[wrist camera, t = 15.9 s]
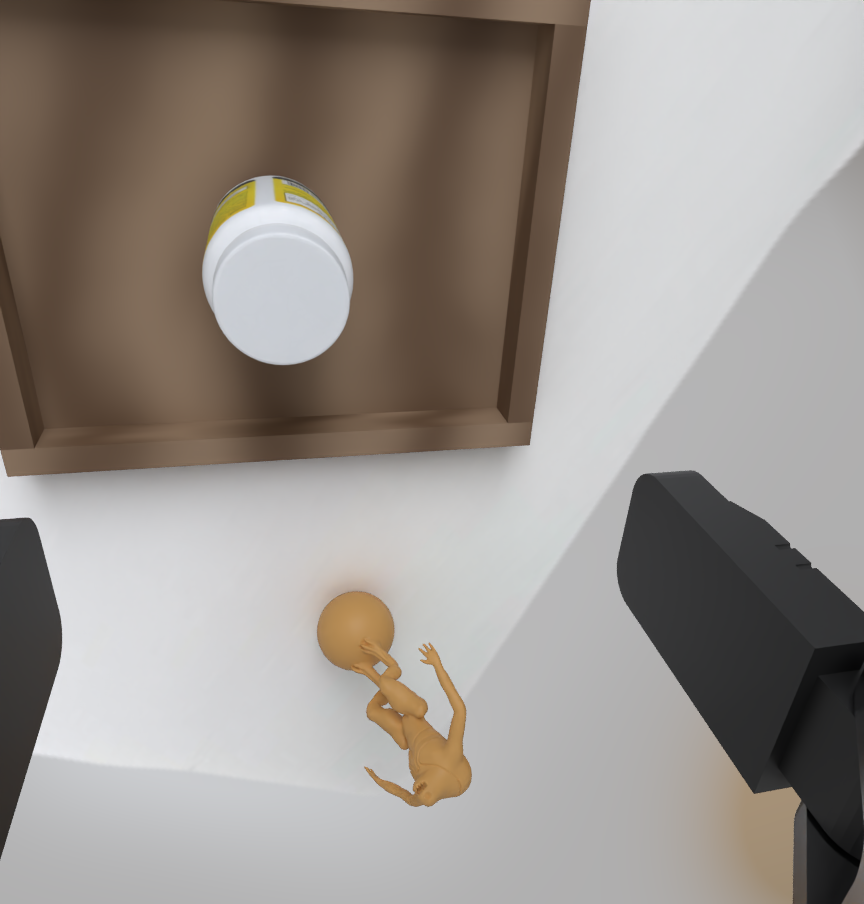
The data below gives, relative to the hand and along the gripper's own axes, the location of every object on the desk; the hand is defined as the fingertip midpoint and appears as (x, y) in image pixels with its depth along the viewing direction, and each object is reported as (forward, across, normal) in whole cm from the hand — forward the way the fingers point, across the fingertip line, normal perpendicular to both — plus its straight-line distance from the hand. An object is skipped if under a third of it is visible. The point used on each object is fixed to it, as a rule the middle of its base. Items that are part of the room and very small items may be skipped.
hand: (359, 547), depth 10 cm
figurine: (+22, -4, +21) cm, 31 cm away
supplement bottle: (+22, 0, +1) cm, 22 cm away
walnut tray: (+22, 0, +1) cm, 22 cm away
